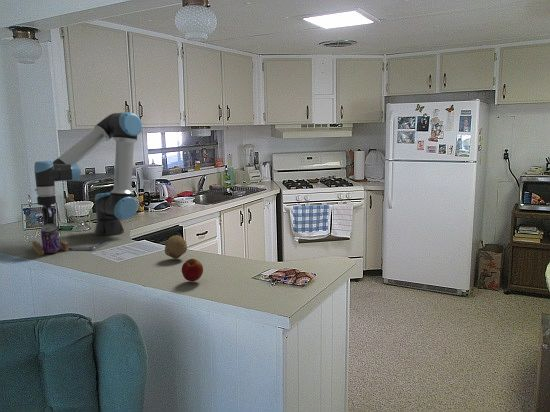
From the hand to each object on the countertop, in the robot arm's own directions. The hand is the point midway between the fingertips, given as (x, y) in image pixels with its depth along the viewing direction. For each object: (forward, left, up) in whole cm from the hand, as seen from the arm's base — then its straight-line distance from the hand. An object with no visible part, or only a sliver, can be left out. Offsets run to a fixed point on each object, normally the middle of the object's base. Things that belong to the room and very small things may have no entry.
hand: (50, 246), depth 209 cm
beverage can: (0, +4, -1) cm, 4 cm away
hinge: (-15, +11, -2) cm, 19 cm away
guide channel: (0, -2, -2) cm, 3 cm away
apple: (-29, +82, -2) cm, 87 cm away
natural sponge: (-38, +51, -2) cm, 64 cm away
